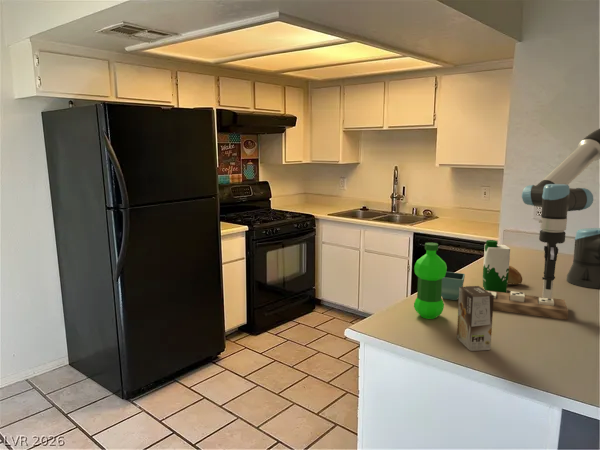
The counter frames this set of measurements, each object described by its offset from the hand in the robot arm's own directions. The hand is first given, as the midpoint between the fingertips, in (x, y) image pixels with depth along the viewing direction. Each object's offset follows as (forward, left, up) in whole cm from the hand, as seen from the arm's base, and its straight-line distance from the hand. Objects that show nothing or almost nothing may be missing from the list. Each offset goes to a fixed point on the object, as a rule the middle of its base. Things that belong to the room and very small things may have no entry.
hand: (547, 297), depth 150 cm
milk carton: (+6, -23, -5) cm, 25 cm away
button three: (+8, -4, -3) cm, 10 cm away
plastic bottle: (+42, +1, -5) cm, 42 cm away
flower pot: (+27, -16, -5) cm, 32 cm away
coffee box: (+37, +23, -5) cm, 44 cm away
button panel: (+8, -4, -5) cm, 10 cm away
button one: (+16, -9, -5) cm, 19 cm away
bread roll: (-2, -32, -5) cm, 33 cm away
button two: (0, 0, -5) cm, 5 cm away
